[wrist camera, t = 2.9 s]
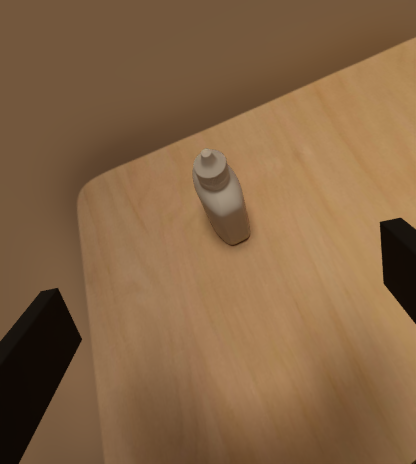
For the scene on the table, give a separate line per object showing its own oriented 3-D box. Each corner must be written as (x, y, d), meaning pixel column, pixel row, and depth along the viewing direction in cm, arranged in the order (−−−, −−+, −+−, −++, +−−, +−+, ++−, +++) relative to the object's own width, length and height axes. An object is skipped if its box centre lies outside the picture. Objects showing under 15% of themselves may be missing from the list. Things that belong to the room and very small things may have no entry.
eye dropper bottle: (251, 193, 36) (239, 116, 25) (250, 246, 35) (236, 189, 23) (208, 194, 37) (178, 120, 26) (204, 246, 35) (171, 190, 24)
